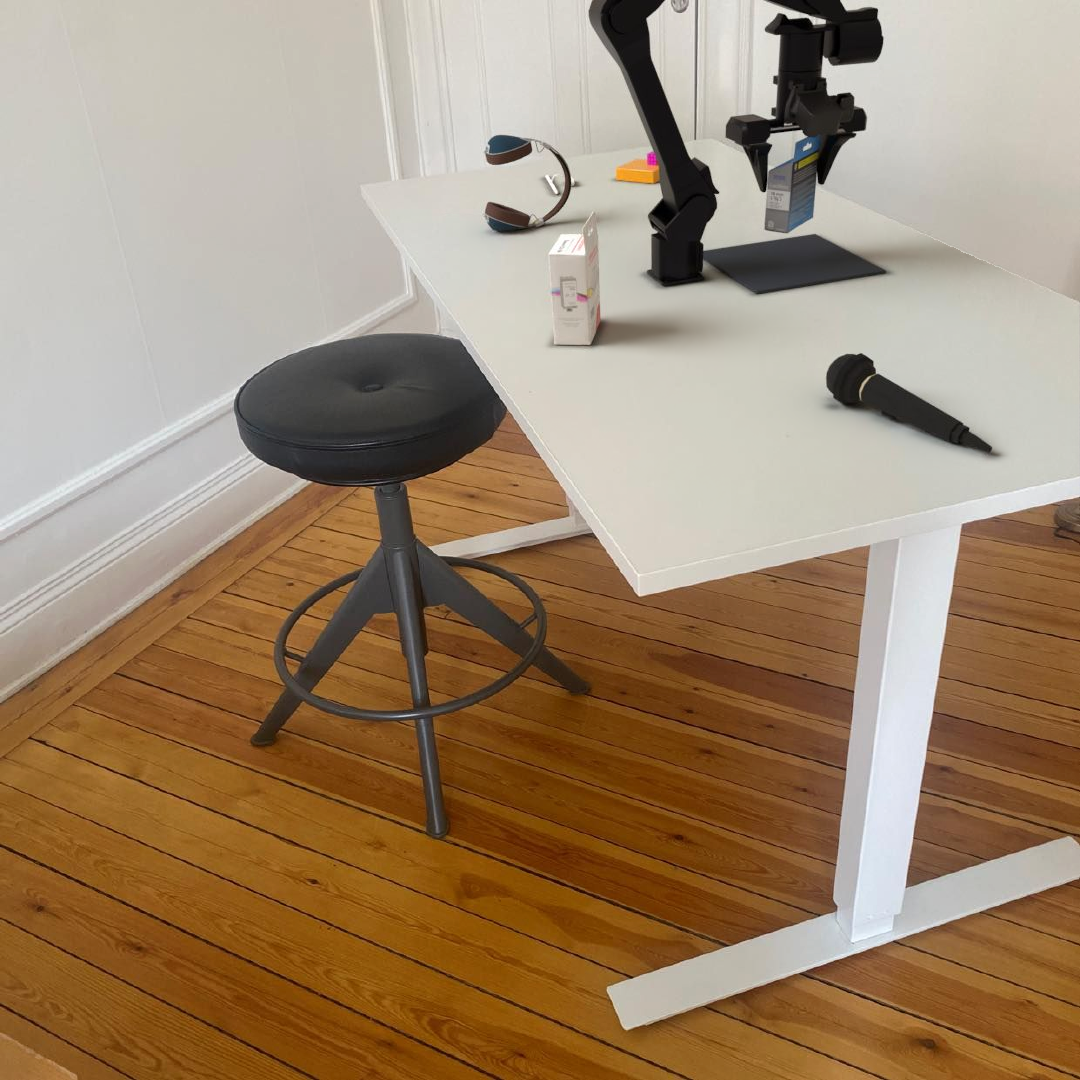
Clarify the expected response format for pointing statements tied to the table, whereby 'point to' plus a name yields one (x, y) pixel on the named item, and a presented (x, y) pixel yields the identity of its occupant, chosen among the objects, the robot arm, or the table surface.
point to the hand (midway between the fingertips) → (792, 187)
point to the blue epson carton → (792, 189)
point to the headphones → (511, 150)
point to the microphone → (893, 400)
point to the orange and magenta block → (640, 170)
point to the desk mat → (789, 263)
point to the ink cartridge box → (575, 286)
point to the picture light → (554, 185)
